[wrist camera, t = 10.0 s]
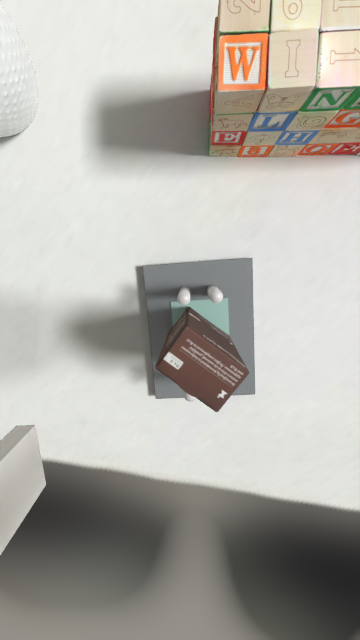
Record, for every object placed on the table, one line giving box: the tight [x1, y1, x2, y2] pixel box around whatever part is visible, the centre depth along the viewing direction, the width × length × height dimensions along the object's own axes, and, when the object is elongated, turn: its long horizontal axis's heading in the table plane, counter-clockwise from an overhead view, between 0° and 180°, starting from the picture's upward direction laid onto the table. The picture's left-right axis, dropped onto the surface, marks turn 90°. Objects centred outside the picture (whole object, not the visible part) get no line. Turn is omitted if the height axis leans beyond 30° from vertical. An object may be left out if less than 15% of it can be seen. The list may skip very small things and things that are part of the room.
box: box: [155, 307, 250, 412], centre depth 27 cm, size 6×4×12 cm
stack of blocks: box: [209, 0, 360, 157], centre depth 23 cm, size 21×6×12 cm, turn 90°
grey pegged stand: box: [143, 258, 255, 401], centre depth 30 cm, size 12×16×7 cm
